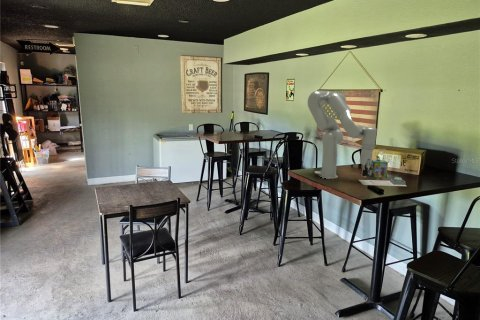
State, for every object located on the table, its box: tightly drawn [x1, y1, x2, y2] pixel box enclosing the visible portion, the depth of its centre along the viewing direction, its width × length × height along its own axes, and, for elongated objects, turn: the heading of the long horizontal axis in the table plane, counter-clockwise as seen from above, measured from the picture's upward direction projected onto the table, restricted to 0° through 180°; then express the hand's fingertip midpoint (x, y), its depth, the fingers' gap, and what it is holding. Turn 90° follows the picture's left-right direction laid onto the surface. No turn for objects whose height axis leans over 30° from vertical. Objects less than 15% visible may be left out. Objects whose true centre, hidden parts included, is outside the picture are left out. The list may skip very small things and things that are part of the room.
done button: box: [393, 176, 403, 182], centre depth 206 cm, size 4×4×2 cm
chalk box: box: [368, 155, 389, 179], centre depth 224 cm, size 9×9×15 cm
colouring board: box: [358, 178, 407, 187], centre depth 207 cm, size 26×12×3 cm, turn 84°
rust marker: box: [360, 164, 367, 178], centre depth 208 cm, size 3×3×9 cm
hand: (363, 174), depth 208 cm, fingers closed on rust marker, 3 cm apart
